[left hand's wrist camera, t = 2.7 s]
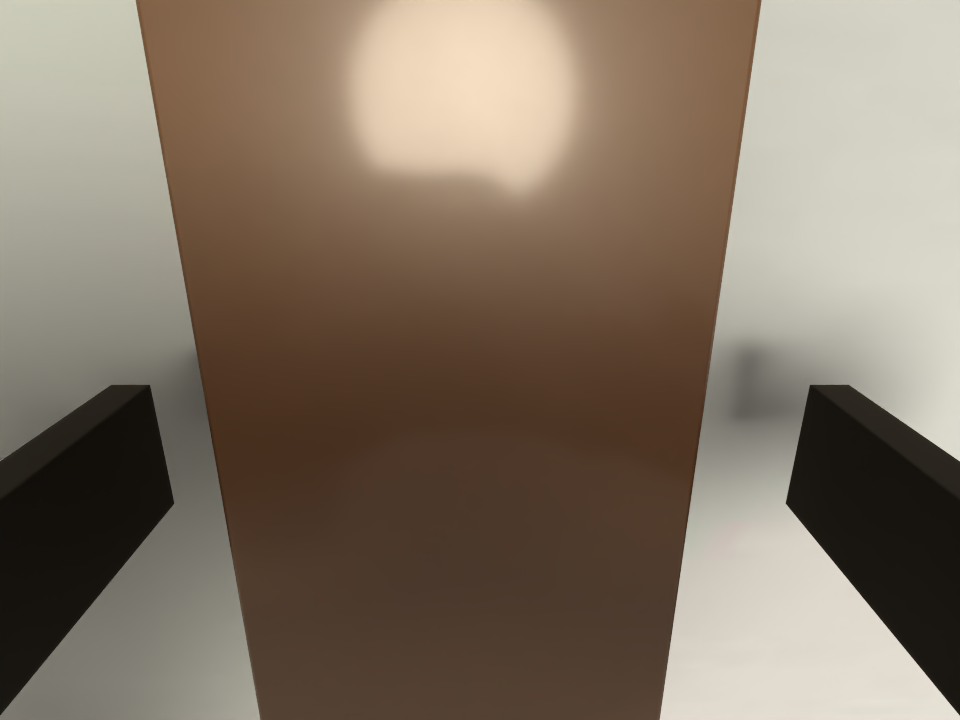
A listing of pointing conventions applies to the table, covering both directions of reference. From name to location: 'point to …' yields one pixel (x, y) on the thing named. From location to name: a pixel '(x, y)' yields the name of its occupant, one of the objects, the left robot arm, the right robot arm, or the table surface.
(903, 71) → the table surface
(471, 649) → the thick board
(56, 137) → the table surface
